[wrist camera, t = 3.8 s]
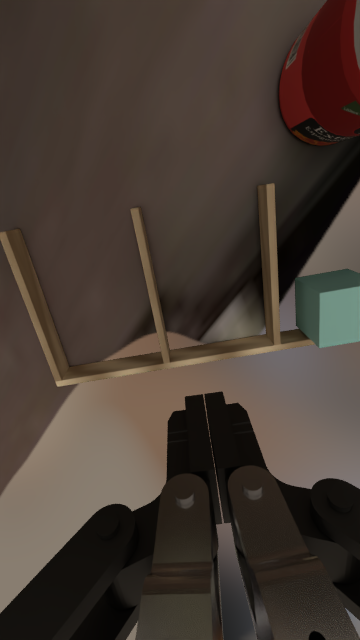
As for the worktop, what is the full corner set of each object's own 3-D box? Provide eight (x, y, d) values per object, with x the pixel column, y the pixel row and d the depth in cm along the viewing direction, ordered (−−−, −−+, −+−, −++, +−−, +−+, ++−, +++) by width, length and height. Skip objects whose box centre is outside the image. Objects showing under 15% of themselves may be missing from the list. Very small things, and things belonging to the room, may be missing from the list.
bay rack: (65, 372, 31) (57, 386, 29) (13, 229, 26) (-3, 232, 23) (375, 321, 30) (392, 331, 28) (390, 162, 25) (413, 158, 22)
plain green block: (295, 326, 30) (319, 349, 26) (294, 277, 28) (319, 293, 24) (344, 317, 30) (377, 339, 25) (347, 268, 28) (382, 282, 24)
